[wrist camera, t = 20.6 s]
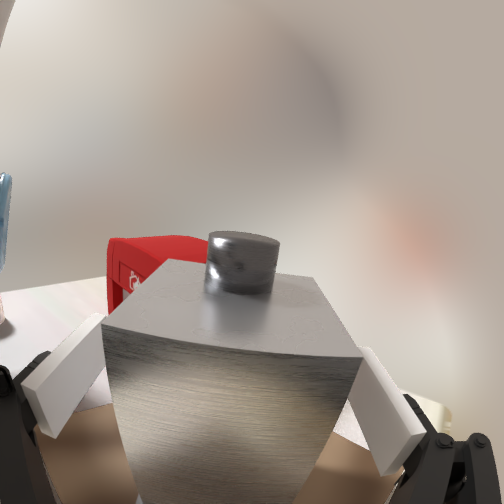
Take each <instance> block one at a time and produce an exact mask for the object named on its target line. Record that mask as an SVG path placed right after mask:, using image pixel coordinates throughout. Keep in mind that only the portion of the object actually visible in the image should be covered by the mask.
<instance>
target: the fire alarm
mask: <svg viewBox="0 0 504 504" xmlns="http://www.w3.org/2000/svg"><path fill="white" fill-rule="evenodd" d="M207 249H208V241H205V240H201V239H198V238H194V237H190V236H177V235H170V236H156V237H142V238H127V239H126V238H111V239H110V240H109V244H108V249H107V301H108V314H109V315H110V314H111V313H112V312H113V311H114V310H115V309H116V308H117V307H118V306H119V305H120V304H121V303H122V302H123V301H124V300H125V299H126V298H127V297H128V296H129V295H130V294H131V293H132V292H133V291H134V290H135V289H136V288H138V287H139V286H140V285H141V284H142V283H143V282H144V281H145V280H146V279H147V278H148V277H149V276H150V275H151V274H152V273H153V272H154V271H156V270H157V269H158V268H159V267H160V266H161V265H162V264H163V263H164V262H165V261H166V260H167V259H175V260H182V261H189V262H197V263H204V264H206V259H207Z"/></svg>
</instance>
